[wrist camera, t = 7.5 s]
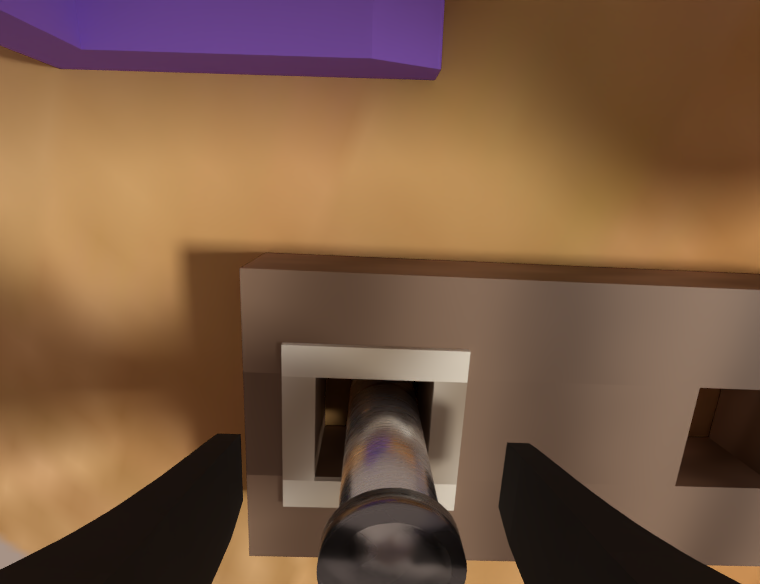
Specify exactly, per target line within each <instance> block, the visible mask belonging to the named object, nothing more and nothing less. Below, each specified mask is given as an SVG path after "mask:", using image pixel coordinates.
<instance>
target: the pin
mask: <svg viewBox="0 0 760 584" xmlns="http://www.w3.org/2000/svg"><path fill="white" fill-rule="evenodd" d="M466 573H467V563H466V558H465V553H464V549H463V545H462V541H461V538H460V534H459V530H458V527H457V525H456V523H455V521H454V519H453V517H452V516H451V514H450V513H449V512H448V510H446V509H445V508H444V507H443V506H442V505H441V504H440V503H439V502H438V499H437V495H436V490H435V485H434V481H433V476H432V471H431V467H430V462H429V457H428V453H427V448H426V444H425V439H424V434H423V430H422V425H421V420H420V416H419V411H418V406H417V402H416V397H415V392H414V388H413V383H412V381H404V380H374V379H352V382H351V389H350V399H349V409H348V418H347V428H346V438H345V448H344V457H343V467H342V477H341V487H340V496H339V506H338V509H337V510H336V511H335V512H334V513H333V514H332V516H331V517H330V518H329V520H328V522H327V523H326V525H325V527H324V530H323V533H322V537H321V543H320V549H319V556H318V563H317V580H318V584H464V583H465V580H466Z"/></svg>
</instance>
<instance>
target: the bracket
mask: <svg viewBox="0 0 760 584" xmlns="http://www.w3.org/2000/svg"><path fill="white" fill-rule="evenodd" d="M444 3H445V0H0V46H3V47H5V48H8V49H11V50H13V51H16V52H18V53H21V54H23V55H26V56H29V57H31V58H34V59H36V60H39V61H41V62H44V63H47V64H49V65H52V66H54V67H57V68H59V69H84V70H117V71H150V72H183V73H216V74H249V75H283V76H316V77H349V78H382V79H415V80H435V79H436V77H437V76H438V74H439V72H440V70H441V60H442V41H443V22H444Z"/></svg>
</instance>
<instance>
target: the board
mask: <svg viewBox="0 0 760 584" xmlns="http://www.w3.org/2000/svg"><path fill="white" fill-rule="evenodd" d="M240 294H241V324H242V353H243V382H244V411H245V440H246V470H247V499H248V528H249V556H283V557H318V556H319V549H320V543H321V537H322V533H323V530H324V527H325V525H326V523H327V522H328V520H329V518H330V517H331V516H332V514H333V513H334V512H335V511H336V510H337V509H338V506H339V496H340V487H341V477H342V467H343V457H344V448H345V438H346V428H347V426H325V392H326V378H345V379H374V380H404V381H419V389H418V402H417V406H418V411H419V416H420V420H421V425H422V430H423V434H424V439H425V444H426V448H427V453H428V457H429V462H430V467H431V471H432V476H433V481H434V485H435V490H436V495H437V499H438V502H439V503H440V504H441V505H442V506H443V507H444V508H445V509H446V510H448V512H449V513H450V514H451V516H452V517H453V519H454V521H455V523H456V525H457V527H458V530H459V534H460V538H461V541H462V545H463V549H464V553H465V558H466V560H478V561H515V559H514V557H513V554H512V552H511V549H510V547H509V544H508V540H507V537H506V533H505V530H504V526H503V523H502V519H501V515H500V511H499V507H498V505H499V497H500V490H501V483H502V475H503V468H504V460H505V453H506V446H507V442H508V443H530V444H531V445H533V446H534V447H535V448H537V449H538V450H539V451H541V452H542V453H543V454H545V455H546V456H547V457H548V458H550V459H551V460H552V461H554V462H555V463H556V464H557V465H559V466H560V467H561V468H562V469H564V470H565V471H566V472H567V473H569V474H570V475H571V476H572V477H574V478H575V479H576V480H578V481H579V482H580V483H581V484H583V485H584V486H585V487H587V488H588V489H589V490H591V491H592V492H593V493H595V494H596V495H597V496H599V497H600V498H601V499H603V500H604V501H605V502H607V503H608V504H609V505H611V506H612V507H614V508H615V509H617V510H618V511H619V512H621V513H622V514H624V515H625V516H627V517H628V518H629V519H631V520H632V521H634V522H635V523H637V524H638V525H640V526H641V527H643V528H644V529H646V530H647V531H649V532H651V533H652V534H654V535H655V536H657V537H659V538H660V539H662V540H664V541H665V542H667V543H669V544H670V545H672V546H673V547H675V548H677V549H678V550H680V551H682V552H683V553H685V554H687V555H689V556H690V557H692V558H694V559H696V560H697V561H699V562H701V563H703V564H705V565H722V566H760V274H745V273H722V272H699V271H675V270H652V269H629V268H606V267H583V266H560V265H537V264H514V263H491V262H468V261H445V260H422V259H399V258H376V257H353V256H330V255H307V254H284V253H264V254H263V255H261V256H259V257H258V258H256V259H254V260H253V261H251V262H249V263H247V264H246V265H244V266H242V267H241V268H240ZM700 388H721V393H720V397H719V400H718V404H717V408H716V412H715V415H714V419H713V423H712V427H711V431H710V434H709V437H688V433H689V429H690V425H691V421H692V417H693V413H694V409H695V405H696V401H697V397H698V393H699V389H700Z"/></svg>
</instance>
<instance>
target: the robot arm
mask: <svg viewBox="0 0 760 584" xmlns="http://www.w3.org/2000/svg"><path fill="white" fill-rule="evenodd" d="M242 502H243V486H242V460H241V434H217V435H215V436H214V437H212V438H211V439H209V440H208V441H207V442H205V443H204V444H203V445H201V446H200V447H199V448H198V449H196V450H195V451H194V452H192V453H191V454H190V455H188V456H187V457H186V458H184V459H183V460H182V461H180V462H179V463H178V464H176V465H175V466H174V467H172V468H171V469H170V470H168V471H167V472H166V473H164V474H163V475H162V476H160V477H159V478H158V479H156V480H155V481H153V482H152V483H150V484H149V485H147V486H146V487H144V488H143V489H141V490H140V491H139V492H137V493H136V494H134V495H133V496H131V497H130V498H128V499H127V500H125V501H124V502H122V503H121V504H119V505H118V506H116V507H115V508H113V509H112V510H110V511H108V512H107V513H105V514H103V515H102V516H100V517H99V518H97V519H95V520H94V521H92V522H90V523H88V524H87V525H85V526H83V527H81V528H80V529H78V530H76V531H75V532H73V533H71V534H69V535H67V536H66V537H64V538H62V539H60V540H58V541H56V542H54V543H52V544H50V545H48V546H46V547H44V548H42V549H40V550H38V551H36V552H34V553H33V554H31V555H29V556H27V557H25V558H23V559H21V560H19V561H17V562H15V563H13V564H11V565H9V566H7V567H5V568H3V569H0V584H212V581H213V579H214V577H215V575H216V572H217V570H218V568H219V566H220V563H221V561H222V559H223V556H224V554H225V552H226V549H227V547H228V545H229V542H230V540H231V537H232V534H233V531H234V528H235V525H236V522H237V518H238V515H239V512H240V508H241V505H242ZM498 507H499V511H500V515H501V519H502V523H503V526H504V530H505V533H506V537H507V540H508V544H509V547H510V549H511V552H512V554H513V557H514V559H515V562H516V564H517V567H518V569H519V572H520V574H521V577H522V579H523V581H524V584H740V583H738V582H736V581H735V580H733V579H731V578H729V577H727V576H725V575H723V574H721V573H720V572H718V571H716V570H714V569H712V568H710V567H708V566H707V565H705V564H703V563H701V562H699V561H697V560H696V559H694V558H692V557H690V556H689V555H687V554H685V553H683V552H682V551H680V550H678V549H677V548H675V547H673V546H672V545H670V544H669V543H667V542H665V541H664V540H662V539H660V538H659V537H657V536H655V535H654V534H652V533H651V532H649V531H647V530H646V529H644V528H643V527H641V526H640V525H638V524H637V523H635V522H634V521H632V520H631V519H629V518H628V517H627V516H625V515H624V514H622V513H621V512H619V511H618V510H617V509H615V508H614V507H612V506H611V505H609V504H608V503H607V502H605V501H604V500H603V499H601V498H600V497H599V496H597V495H596V494H595V493H593V492H592V491H591V490H589V489H588V488H587V487H585V486H584V485H583V484H581V483H580V482H579V481H578V480H576V479H575V478H574V477H572V476H571V475H570V474H569V473H567V472H566V471H565V470H564V469H562V468H561V467H560V466H559V465H557V464H556V463H555V462H554V461H552V460H551V459H550V458H548V457H547V456H546V455H545V454H543V453H542V452H541V451H539V450H538V449H537V448H535V447H534V446H533V445H531V444H530V443H508V442H507V446H506V453H505V460H504V468H503V475H502V483H501V490H500V497H499V505H498Z"/></svg>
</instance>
